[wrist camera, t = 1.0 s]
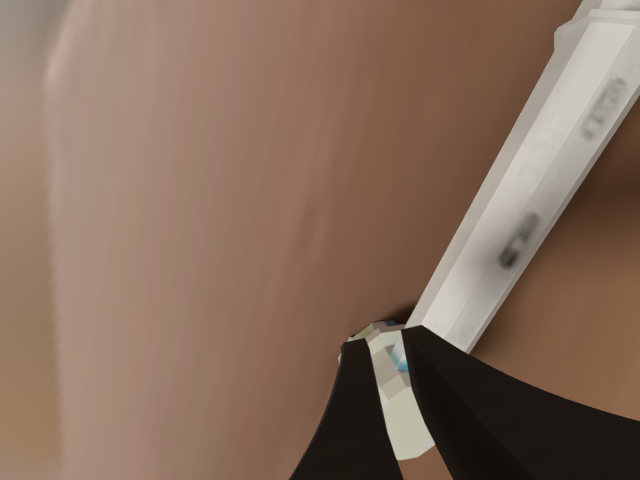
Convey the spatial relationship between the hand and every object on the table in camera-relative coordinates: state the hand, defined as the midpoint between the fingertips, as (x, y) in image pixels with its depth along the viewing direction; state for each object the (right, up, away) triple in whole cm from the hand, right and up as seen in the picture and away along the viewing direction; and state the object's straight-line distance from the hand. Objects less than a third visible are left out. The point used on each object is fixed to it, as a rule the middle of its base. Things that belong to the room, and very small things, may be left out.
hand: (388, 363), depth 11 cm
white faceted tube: (+6, +5, +10) cm, 13 cm away
